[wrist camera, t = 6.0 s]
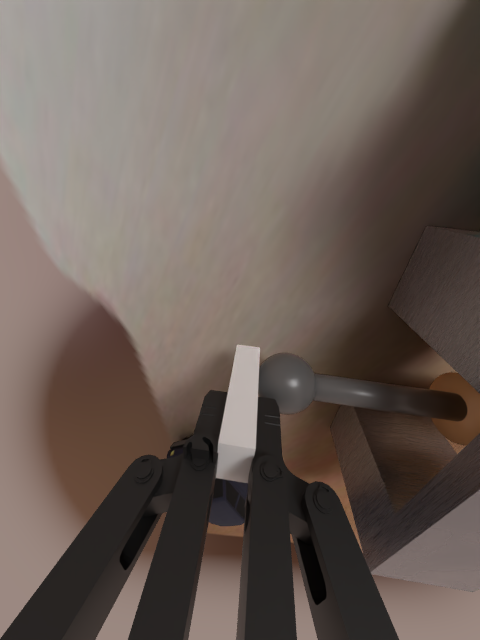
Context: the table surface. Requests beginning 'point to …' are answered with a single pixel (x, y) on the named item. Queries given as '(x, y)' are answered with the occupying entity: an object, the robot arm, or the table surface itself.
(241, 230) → the table surface
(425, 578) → the housing
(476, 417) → the wood and metal rod
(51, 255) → the table surface
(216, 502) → the toy car
